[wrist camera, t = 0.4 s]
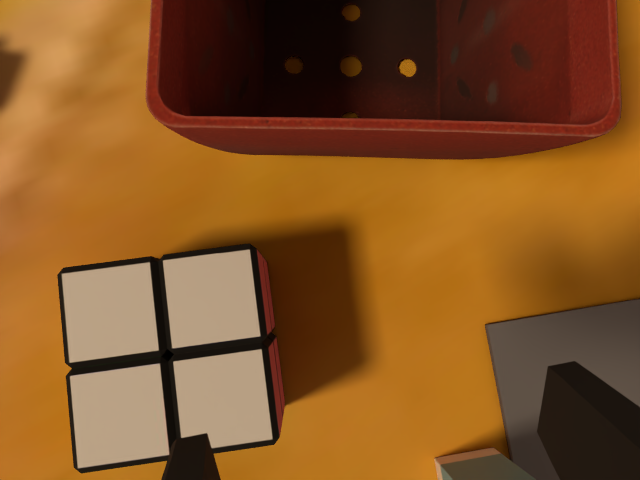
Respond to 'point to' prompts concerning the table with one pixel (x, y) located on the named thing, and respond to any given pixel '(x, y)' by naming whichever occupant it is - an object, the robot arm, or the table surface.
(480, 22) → the plant pot
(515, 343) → the charcoal mat
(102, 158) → the table surface
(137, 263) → the puzzle cube
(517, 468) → the teal block
